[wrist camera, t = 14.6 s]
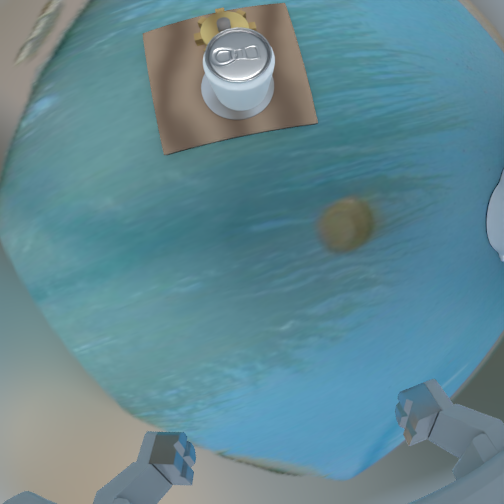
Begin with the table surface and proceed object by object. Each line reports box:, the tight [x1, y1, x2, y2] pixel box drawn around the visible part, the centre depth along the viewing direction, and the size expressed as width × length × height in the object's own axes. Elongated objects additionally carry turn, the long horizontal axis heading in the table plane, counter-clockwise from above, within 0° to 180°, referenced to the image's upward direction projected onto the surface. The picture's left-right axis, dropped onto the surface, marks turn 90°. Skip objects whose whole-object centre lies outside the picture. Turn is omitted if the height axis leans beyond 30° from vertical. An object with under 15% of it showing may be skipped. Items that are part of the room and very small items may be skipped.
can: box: [203, 27, 275, 111], centre depth 25 cm, size 6×6×12 cm
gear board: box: [143, 3, 318, 155], centre depth 29 cm, size 20×19×6 cm
